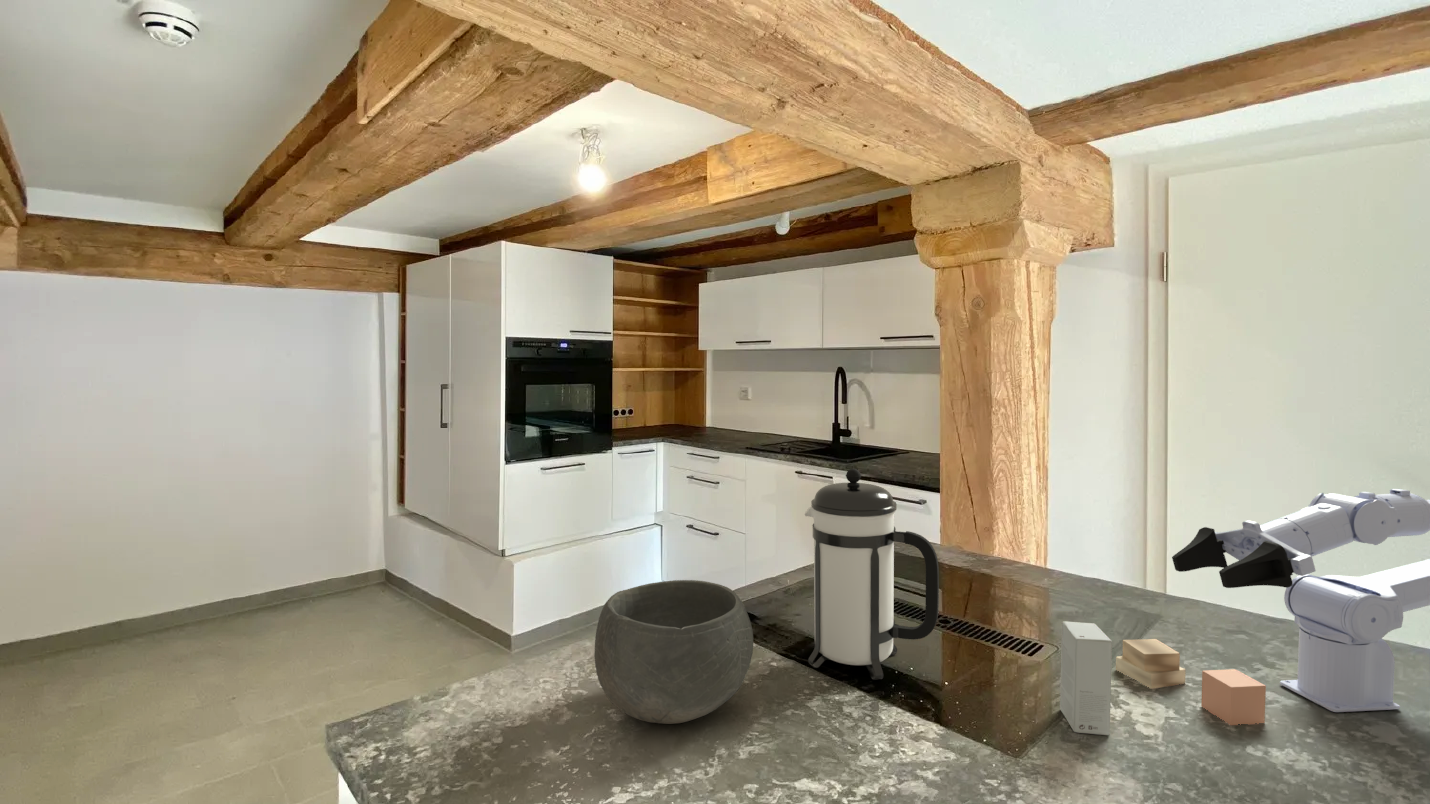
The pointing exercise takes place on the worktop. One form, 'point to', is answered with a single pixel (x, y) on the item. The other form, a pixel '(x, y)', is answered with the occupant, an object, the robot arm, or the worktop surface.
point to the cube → (1233, 696)
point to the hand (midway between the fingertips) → (1198, 571)
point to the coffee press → (861, 575)
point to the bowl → (672, 649)
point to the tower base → (1150, 674)
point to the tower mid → (1151, 655)
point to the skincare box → (1086, 677)
